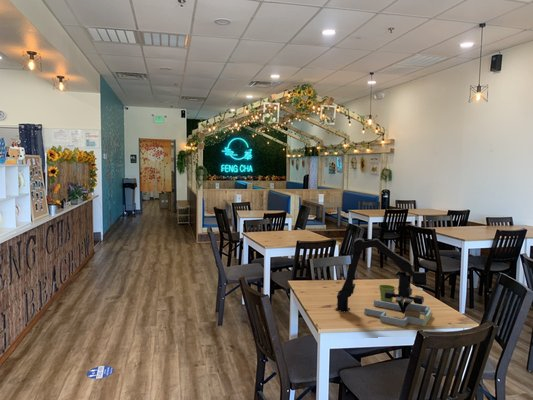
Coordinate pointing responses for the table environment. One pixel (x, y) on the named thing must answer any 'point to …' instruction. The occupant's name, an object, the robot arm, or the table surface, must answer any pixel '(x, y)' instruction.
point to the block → (412, 313)
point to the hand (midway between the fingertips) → (403, 313)
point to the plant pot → (383, 290)
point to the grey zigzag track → (407, 319)
